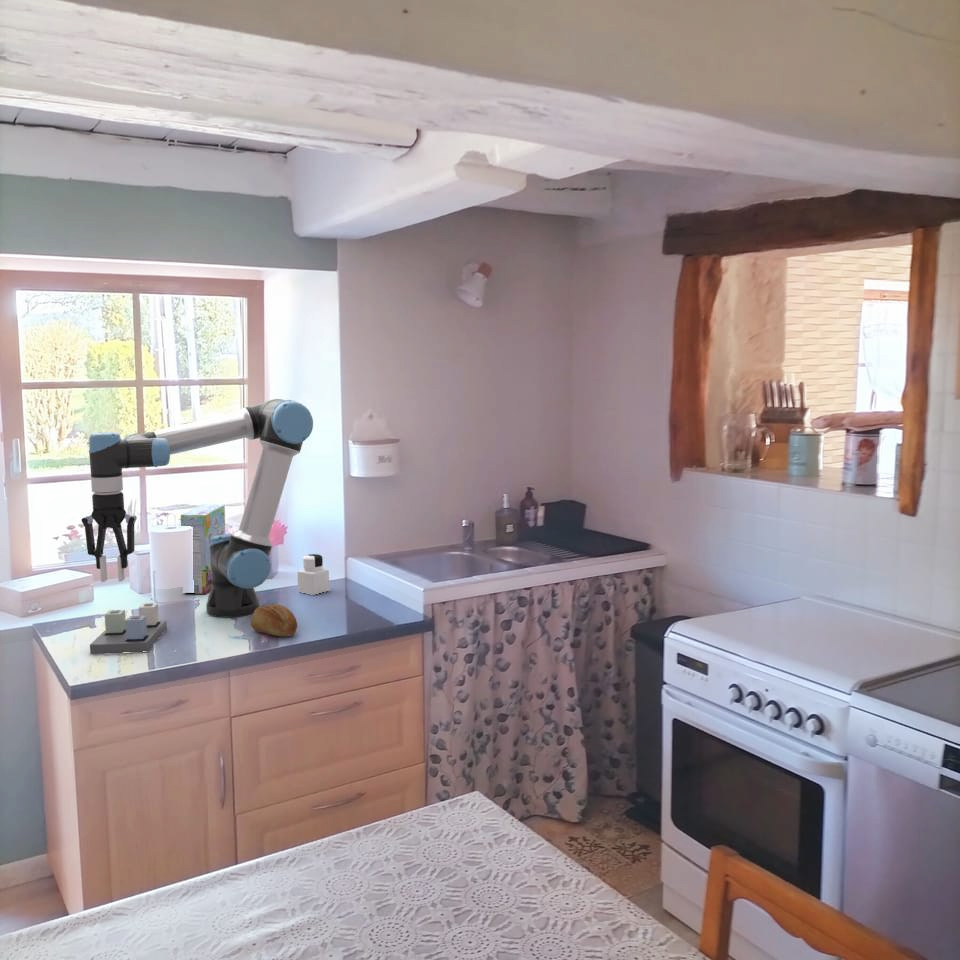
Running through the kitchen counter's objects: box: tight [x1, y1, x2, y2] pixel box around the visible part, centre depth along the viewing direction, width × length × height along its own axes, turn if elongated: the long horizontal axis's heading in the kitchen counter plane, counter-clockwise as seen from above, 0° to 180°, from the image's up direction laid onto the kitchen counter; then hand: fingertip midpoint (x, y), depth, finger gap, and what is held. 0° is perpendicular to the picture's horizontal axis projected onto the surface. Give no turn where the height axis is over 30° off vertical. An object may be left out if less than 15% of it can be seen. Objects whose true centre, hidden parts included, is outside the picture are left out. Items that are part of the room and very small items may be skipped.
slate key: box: [125, 615, 147, 639], centre depth 233 cm, size 4×4×5 cm
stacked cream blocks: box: [297, 553, 330, 596], centre depth 288 cm, size 7×7×12 cm
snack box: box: [180, 504, 226, 595], centre depth 295 cm, size 22×9×26 cm, turn 179°
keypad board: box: [89, 619, 168, 655], centre depth 240 cm, size 14×20×2 cm
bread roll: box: [250, 603, 298, 637], centre depth 246 cm, size 10×15×8 cm, turn 55°
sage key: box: [104, 609, 126, 633], centre depth 239 cm, size 4×4×5 cm
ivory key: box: [138, 602, 160, 625], centre depth 245 cm, size 4×4×5 cm
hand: (113, 580), depth 237 cm, fingers open, 4 cm apart
